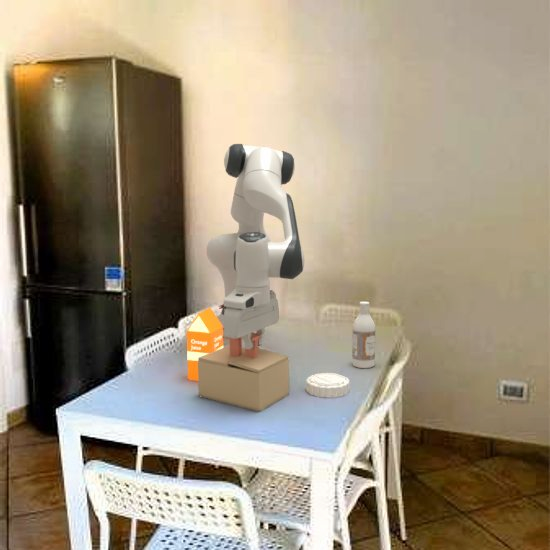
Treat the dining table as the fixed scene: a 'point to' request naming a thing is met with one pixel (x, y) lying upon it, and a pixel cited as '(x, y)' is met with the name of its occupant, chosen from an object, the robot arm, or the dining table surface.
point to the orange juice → (202, 339)
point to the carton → (243, 385)
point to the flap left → (225, 353)
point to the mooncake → (327, 385)
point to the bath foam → (363, 339)
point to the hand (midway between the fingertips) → (253, 346)
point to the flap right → (257, 357)
